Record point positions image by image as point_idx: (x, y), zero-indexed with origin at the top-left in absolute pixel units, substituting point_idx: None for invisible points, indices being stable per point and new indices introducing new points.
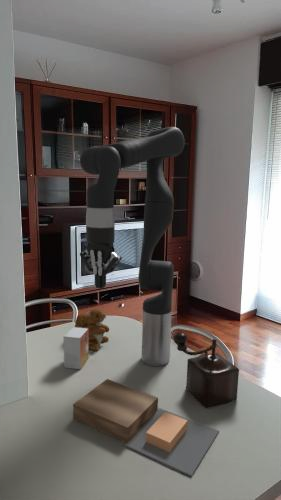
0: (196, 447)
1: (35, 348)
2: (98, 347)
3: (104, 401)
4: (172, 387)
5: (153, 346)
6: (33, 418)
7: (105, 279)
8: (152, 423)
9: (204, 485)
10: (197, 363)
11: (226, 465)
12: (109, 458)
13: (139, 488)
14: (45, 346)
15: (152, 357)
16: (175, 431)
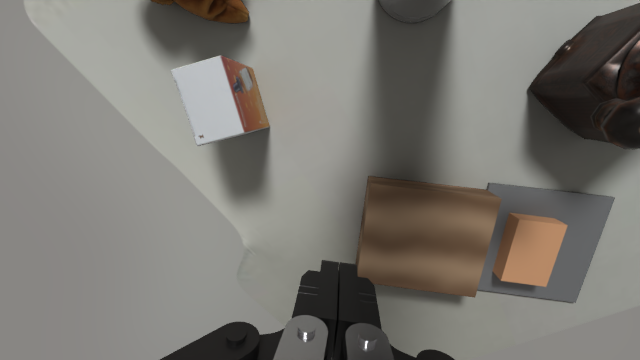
0: (576, 251)
1: (110, 89)
2: (246, 12)
3: (404, 253)
4: (495, 95)
5: (437, 4)
6: (297, 288)
7: (376, 315)
8: None
9: (593, 306)
10: (623, 98)
11: (625, 263)
12: (449, 312)
13: (507, 338)
14: (120, 67)
15: (425, 15)
16: (550, 260)
